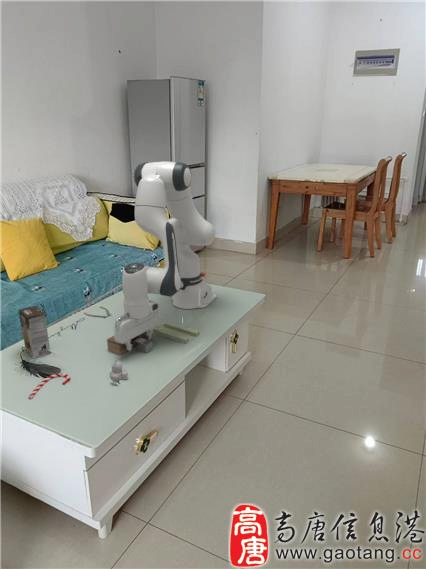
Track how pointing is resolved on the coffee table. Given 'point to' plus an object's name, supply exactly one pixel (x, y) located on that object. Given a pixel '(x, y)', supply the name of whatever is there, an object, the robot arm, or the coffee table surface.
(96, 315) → the pliers
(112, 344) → the beam
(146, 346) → the shaft
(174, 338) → the cradle
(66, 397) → the coffee table surface
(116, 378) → the grey lumpy blob
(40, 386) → the candy cane
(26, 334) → the coffee box
